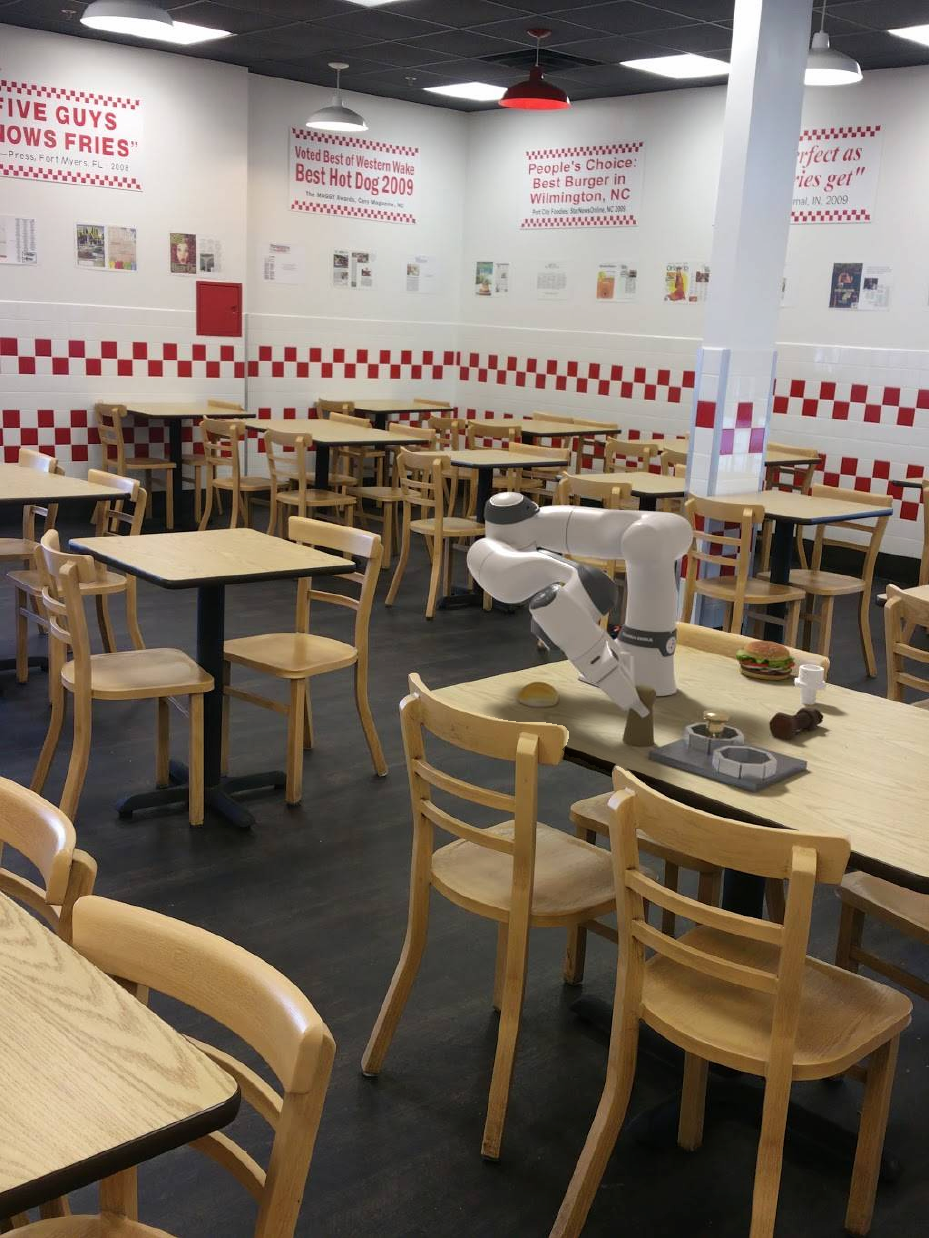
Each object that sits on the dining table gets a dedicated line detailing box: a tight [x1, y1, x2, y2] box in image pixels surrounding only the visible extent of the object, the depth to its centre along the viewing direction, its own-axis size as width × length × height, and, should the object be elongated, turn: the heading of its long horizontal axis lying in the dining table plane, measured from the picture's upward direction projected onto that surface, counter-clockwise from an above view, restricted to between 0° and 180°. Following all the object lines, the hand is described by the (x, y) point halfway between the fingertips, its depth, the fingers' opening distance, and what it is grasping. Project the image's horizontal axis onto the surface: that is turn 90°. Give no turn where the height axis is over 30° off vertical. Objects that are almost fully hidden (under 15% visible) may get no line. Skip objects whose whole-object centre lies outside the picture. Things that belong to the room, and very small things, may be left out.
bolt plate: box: [647, 709, 808, 793], centre depth 218 cm, size 22×19×8 cm
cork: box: [621, 685, 657, 748], centre depth 227 cm, size 6×6×11 cm
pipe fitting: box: [793, 664, 827, 705], centre depth 262 cm, size 6×7×8 cm
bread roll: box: [517, 681, 559, 708], centre depth 251 cm, size 8×9×4 cm
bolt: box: [768, 707, 824, 741], centre depth 240 cm, size 6×5×15 cm
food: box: [735, 640, 796, 681], centre depth 284 cm, size 14×14×8 cm
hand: (644, 709), depth 227 cm, fingers closed on cork, 5 cm apart
